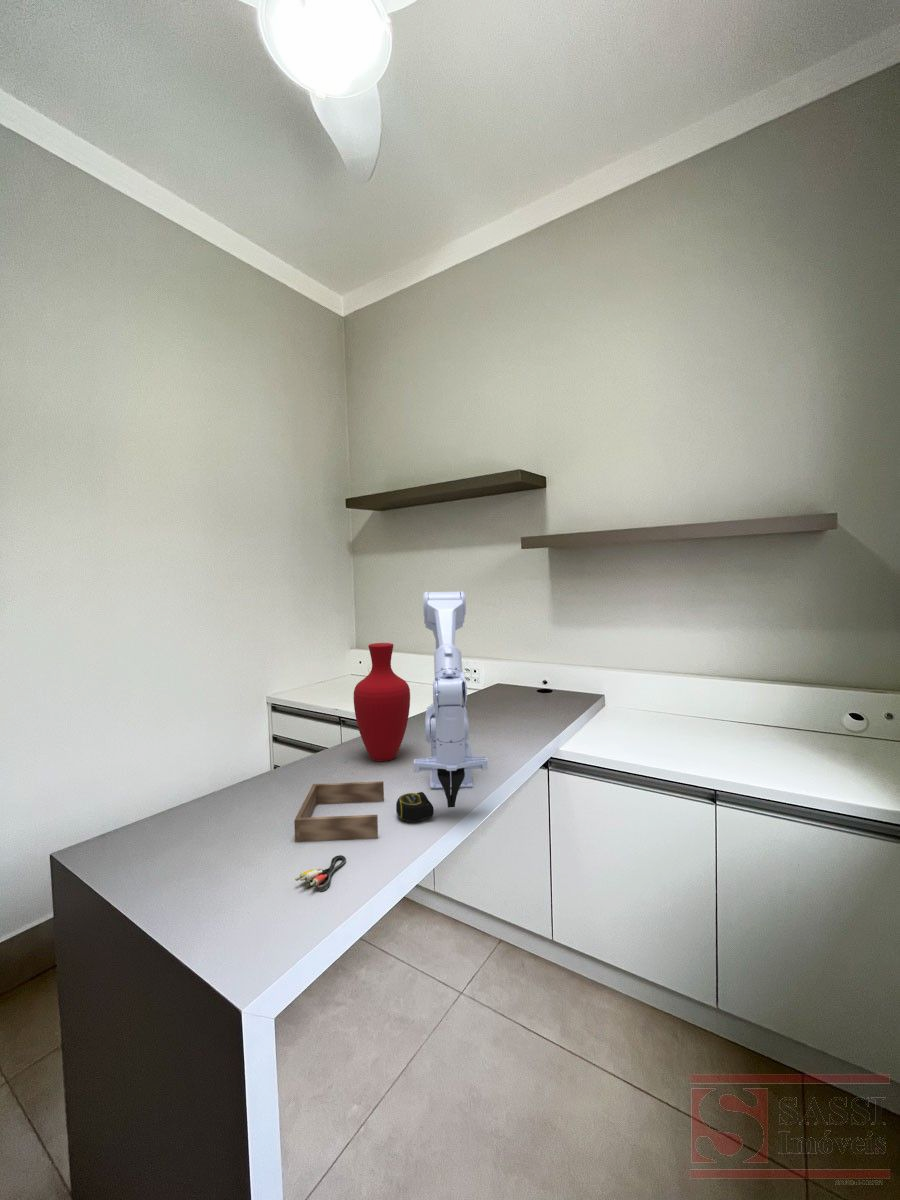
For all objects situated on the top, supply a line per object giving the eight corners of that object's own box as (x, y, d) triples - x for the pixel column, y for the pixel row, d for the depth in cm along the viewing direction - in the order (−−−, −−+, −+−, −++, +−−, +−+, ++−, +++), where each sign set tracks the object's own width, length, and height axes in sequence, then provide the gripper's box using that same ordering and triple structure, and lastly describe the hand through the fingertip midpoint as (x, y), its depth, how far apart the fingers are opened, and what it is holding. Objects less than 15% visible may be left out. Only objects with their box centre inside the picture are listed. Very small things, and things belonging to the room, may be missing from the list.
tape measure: (435, 822, 96) (434, 803, 96) (400, 828, 94) (400, 808, 94) (425, 806, 103) (425, 789, 103) (393, 811, 101) (393, 793, 101)
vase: (422, 757, 131) (420, 643, 129) (376, 772, 121) (373, 650, 119) (389, 743, 142) (387, 639, 140) (344, 757, 131) (341, 644, 130)
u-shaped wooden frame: (383, 799, 106) (383, 781, 106) (377, 838, 91) (377, 816, 90) (313, 802, 105) (313, 784, 105) (295, 841, 90) (294, 820, 89)
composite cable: (338, 858, 85) (338, 844, 85) (360, 866, 82) (359, 852, 82) (293, 890, 76) (292, 874, 76) (315, 900, 74) (315, 884, 74)
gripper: (413, 746, 94) (414, 816, 95) (489, 743, 95) (490, 813, 95) (413, 734, 101) (414, 799, 102) (484, 731, 102) (485, 796, 102)
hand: (451, 805), depth 99 cm, fingers closed
